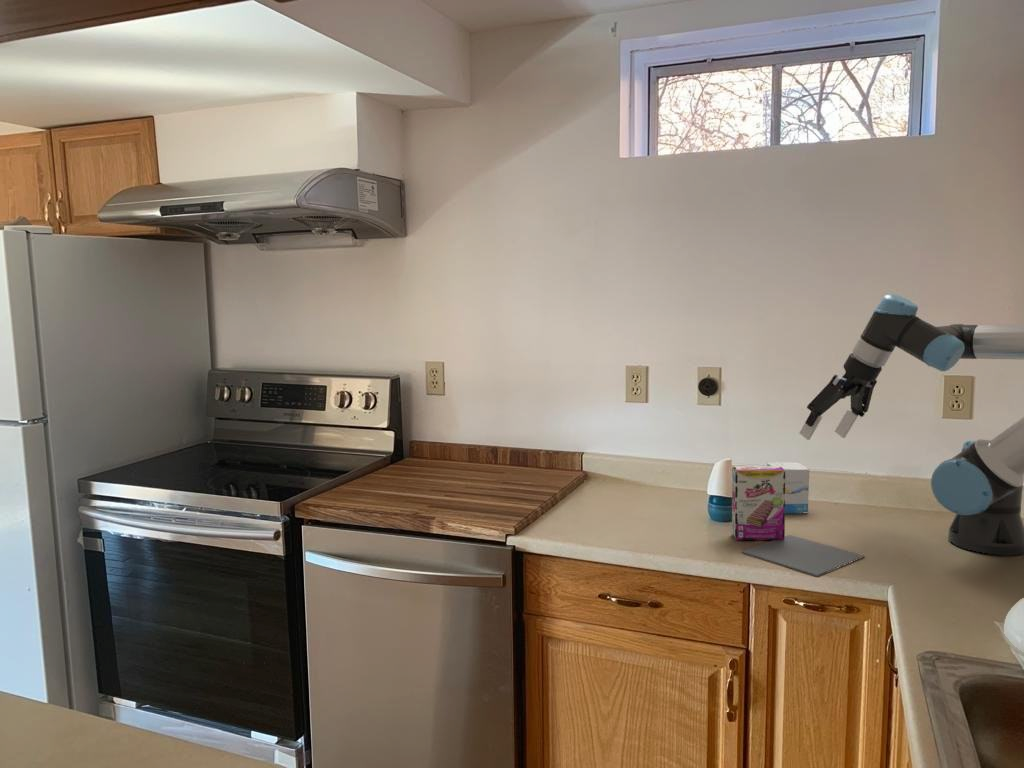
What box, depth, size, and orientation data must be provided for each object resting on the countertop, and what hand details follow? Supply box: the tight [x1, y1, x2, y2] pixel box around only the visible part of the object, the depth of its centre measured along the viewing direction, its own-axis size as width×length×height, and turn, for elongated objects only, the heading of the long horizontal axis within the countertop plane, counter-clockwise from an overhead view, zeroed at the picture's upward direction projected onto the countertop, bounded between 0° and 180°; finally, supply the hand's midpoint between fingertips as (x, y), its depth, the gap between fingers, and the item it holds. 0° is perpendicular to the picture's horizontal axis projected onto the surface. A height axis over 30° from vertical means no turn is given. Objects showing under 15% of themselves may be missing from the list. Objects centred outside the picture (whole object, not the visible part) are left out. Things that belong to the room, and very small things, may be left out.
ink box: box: [766, 461, 810, 514], centre depth 200 cm, size 8×8×12 cm
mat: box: [741, 534, 865, 578], centre depth 167 cm, size 18×18×1 cm
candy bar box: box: [731, 465, 786, 541], centre depth 177 cm, size 11×5×16 cm, turn 84°
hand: (822, 435), depth 185 cm, fingers open, 13 cm apart
